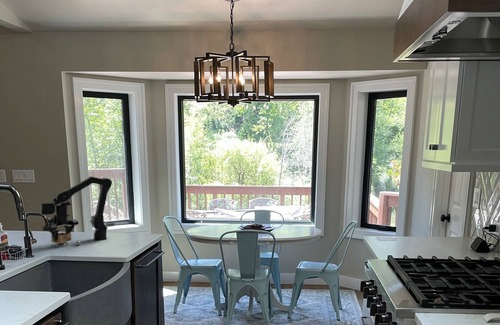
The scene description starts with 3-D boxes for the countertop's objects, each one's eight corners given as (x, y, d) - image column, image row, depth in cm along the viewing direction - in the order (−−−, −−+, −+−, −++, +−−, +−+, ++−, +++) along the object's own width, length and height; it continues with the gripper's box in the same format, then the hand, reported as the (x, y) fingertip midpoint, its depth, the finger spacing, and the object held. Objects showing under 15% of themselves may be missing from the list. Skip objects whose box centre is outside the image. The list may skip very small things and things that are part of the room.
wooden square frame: (62, 238, 178) (62, 232, 178) (71, 240, 176) (71, 233, 176) (51, 242, 171) (51, 235, 171) (60, 243, 169) (60, 236, 169)
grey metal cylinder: (79, 244, 175) (79, 240, 175) (80, 245, 174) (80, 241, 174) (75, 245, 174) (75, 241, 174) (76, 246, 173) (76, 241, 173)
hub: (67, 242, 178) (67, 234, 178) (68, 245, 173) (68, 237, 173) (53, 244, 174) (53, 236, 174) (54, 247, 168) (54, 239, 168)
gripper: (65, 209, 184) (65, 234, 185) (35, 215, 166) (35, 242, 167) (79, 210, 181) (78, 236, 181) (50, 216, 163) (50, 244, 164)
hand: (61, 239), depth 173 cm, fingers closed on wooden square frame, 7 cm apart
